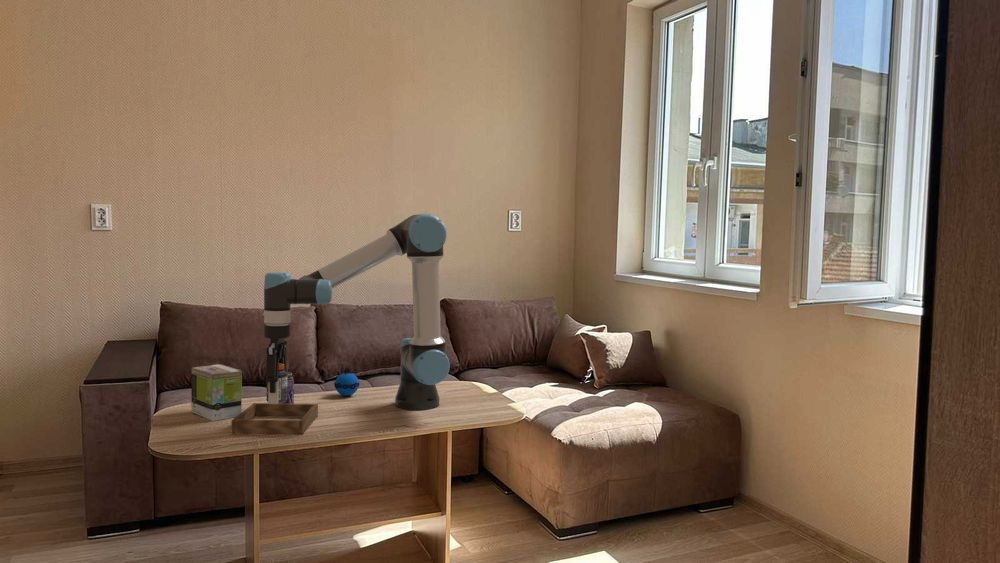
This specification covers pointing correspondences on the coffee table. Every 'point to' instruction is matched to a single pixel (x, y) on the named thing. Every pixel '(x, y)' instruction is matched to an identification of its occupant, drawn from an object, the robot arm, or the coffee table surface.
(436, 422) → the coffee table surface
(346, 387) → the ornament
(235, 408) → the tea box
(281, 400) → the pill bottle
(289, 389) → the beverage can
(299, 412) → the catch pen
